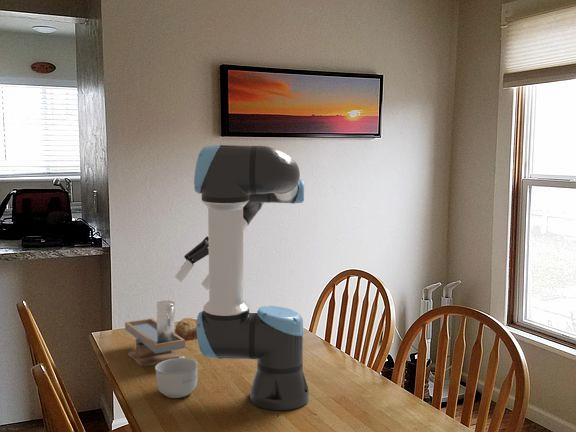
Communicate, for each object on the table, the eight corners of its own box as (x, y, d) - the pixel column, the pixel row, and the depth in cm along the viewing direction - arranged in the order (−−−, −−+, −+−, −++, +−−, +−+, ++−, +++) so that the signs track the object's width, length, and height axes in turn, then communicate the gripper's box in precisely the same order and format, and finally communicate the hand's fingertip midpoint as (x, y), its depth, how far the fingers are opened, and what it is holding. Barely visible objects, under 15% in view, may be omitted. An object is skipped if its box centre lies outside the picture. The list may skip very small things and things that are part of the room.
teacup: (188, 404, 151) (188, 373, 151) (148, 399, 154) (148, 369, 153) (207, 383, 165) (207, 355, 164) (169, 379, 167) (169, 351, 166)
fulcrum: (180, 359, 183) (180, 343, 182) (141, 367, 176) (141, 350, 176) (164, 348, 193) (164, 333, 192) (128, 355, 186) (127, 339, 186)
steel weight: (177, 344, 175) (177, 303, 174) (161, 346, 173) (160, 305, 171) (170, 339, 180) (170, 299, 178) (154, 342, 177) (154, 302, 175)
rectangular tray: (188, 349, 176) (188, 339, 176) (152, 356, 170) (152, 345, 170) (155, 326, 198) (155, 317, 197) (122, 331, 192) (122, 322, 191)
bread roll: (177, 342, 211) (167, 322, 209) (204, 328, 213) (194, 308, 212) (181, 351, 202) (171, 331, 200) (209, 336, 204) (199, 316, 202)
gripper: (262, 241, 183) (223, 297, 174) (213, 232, 201) (175, 283, 192) (249, 225, 179) (208, 282, 170) (200, 218, 197) (160, 269, 188)
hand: (190, 283), depth 181 cm, fingers open, 13 cm apart
